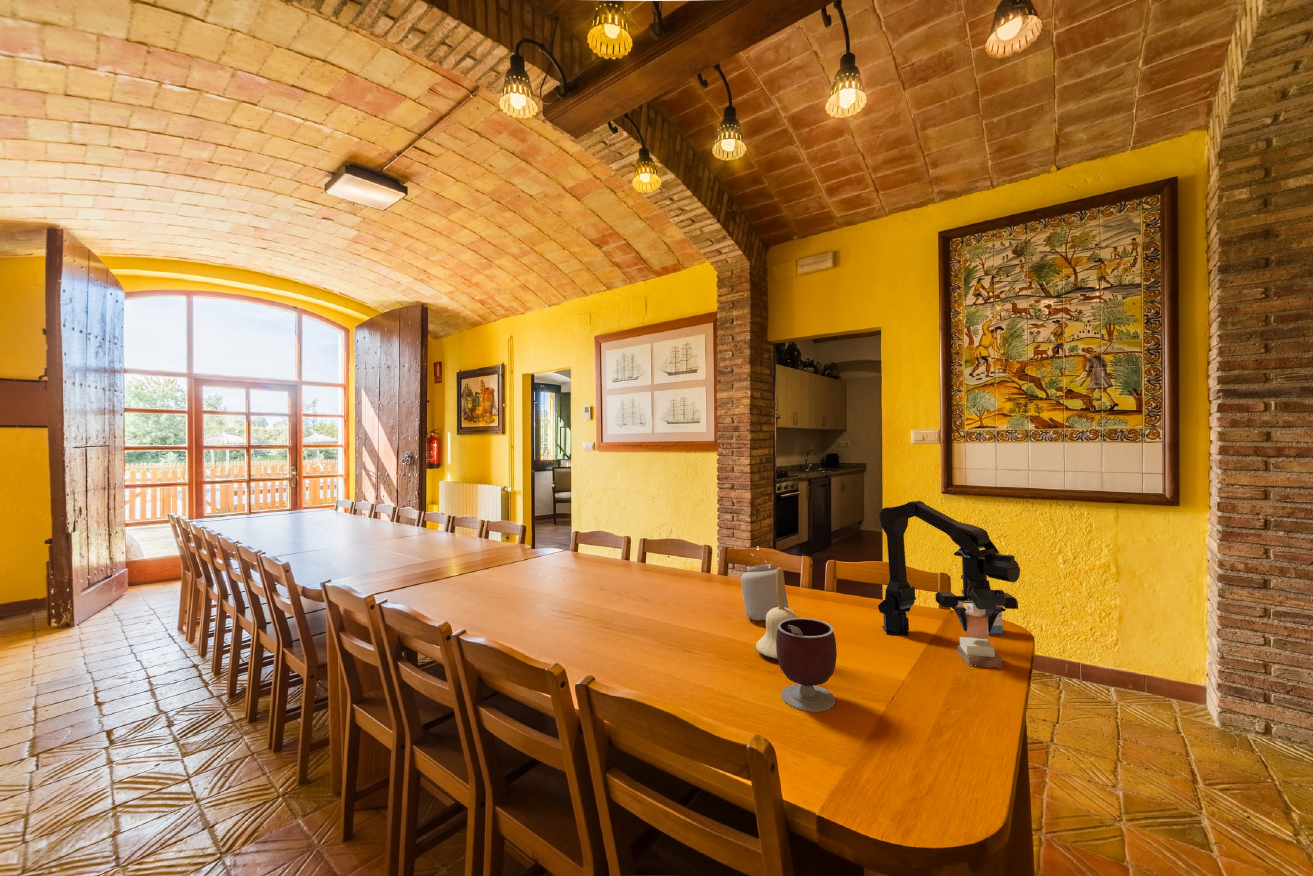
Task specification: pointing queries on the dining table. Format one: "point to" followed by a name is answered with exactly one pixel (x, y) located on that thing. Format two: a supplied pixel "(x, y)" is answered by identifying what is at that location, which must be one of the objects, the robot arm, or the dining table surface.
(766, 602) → the jar
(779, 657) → the mate gourd
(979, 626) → the terracotta cylinder
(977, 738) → the dining table surface
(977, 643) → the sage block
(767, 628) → the handbell
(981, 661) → the walnut slab
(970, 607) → the ink box
